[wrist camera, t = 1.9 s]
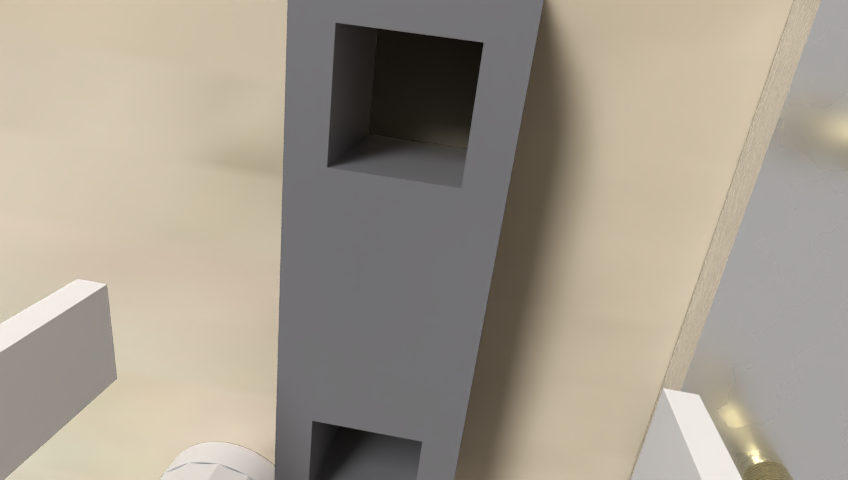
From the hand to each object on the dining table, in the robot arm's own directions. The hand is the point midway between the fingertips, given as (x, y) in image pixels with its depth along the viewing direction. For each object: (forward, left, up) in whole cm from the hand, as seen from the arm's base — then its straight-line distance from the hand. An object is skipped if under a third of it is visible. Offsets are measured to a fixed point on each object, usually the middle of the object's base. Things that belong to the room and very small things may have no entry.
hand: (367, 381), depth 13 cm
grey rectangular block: (0, 0, -8) cm, 8 cm away
